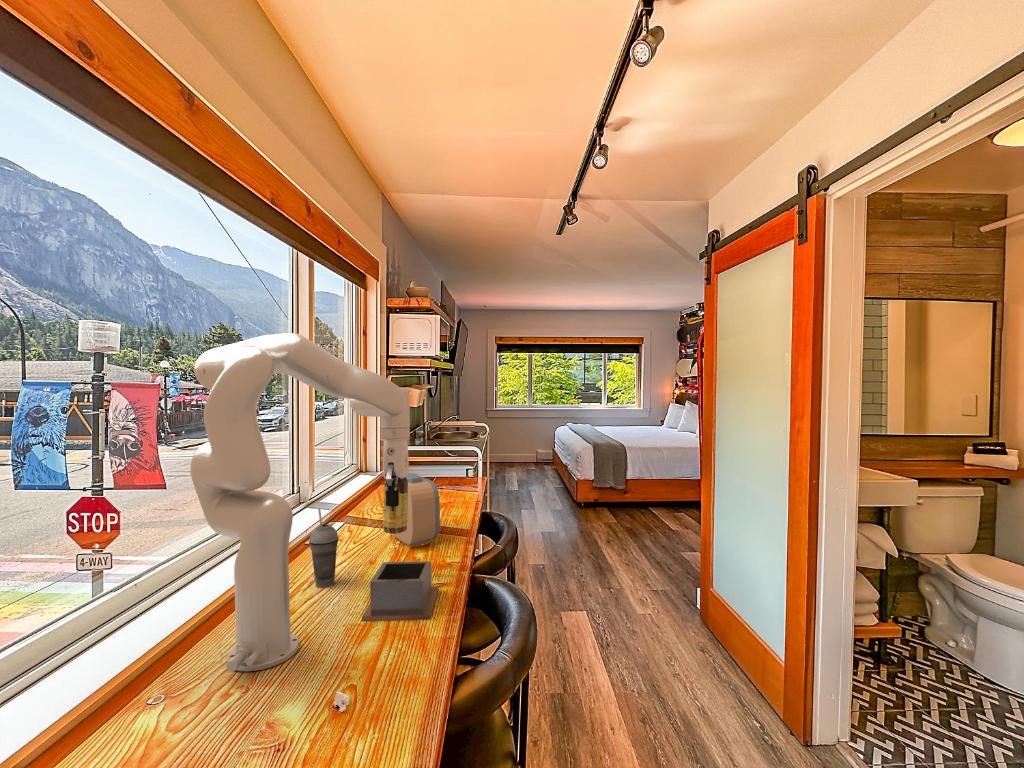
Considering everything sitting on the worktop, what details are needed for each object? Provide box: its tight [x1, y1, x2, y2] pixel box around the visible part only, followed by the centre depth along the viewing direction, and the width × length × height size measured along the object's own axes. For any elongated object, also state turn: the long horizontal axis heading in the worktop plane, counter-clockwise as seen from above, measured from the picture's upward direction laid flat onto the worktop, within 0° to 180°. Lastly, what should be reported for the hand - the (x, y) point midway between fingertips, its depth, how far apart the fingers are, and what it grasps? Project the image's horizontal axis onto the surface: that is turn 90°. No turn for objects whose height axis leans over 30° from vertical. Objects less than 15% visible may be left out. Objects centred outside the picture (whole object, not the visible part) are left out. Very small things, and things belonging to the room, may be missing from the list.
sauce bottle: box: [382, 476, 408, 535], centre depth 132 cm, size 6×6×20 cm
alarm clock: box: [393, 472, 441, 548], centre depth 166 cm, size 21×10×22 cm, turn 34°
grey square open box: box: [361, 560, 440, 622], centre depth 119 cm, size 15×15×8 cm
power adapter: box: [332, 691, 350, 713], centre depth 82 cm, size 3×3×3 cm
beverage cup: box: [308, 507, 339, 589], centre depth 131 cm, size 7×7×20 cm
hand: (395, 502), depth 132 cm, fingers closed on sauce bottle, 6 cm apart
